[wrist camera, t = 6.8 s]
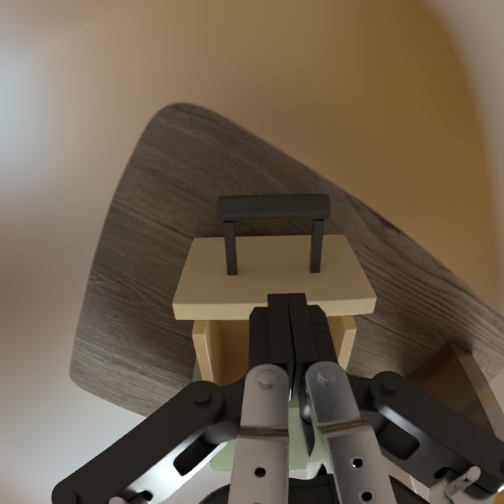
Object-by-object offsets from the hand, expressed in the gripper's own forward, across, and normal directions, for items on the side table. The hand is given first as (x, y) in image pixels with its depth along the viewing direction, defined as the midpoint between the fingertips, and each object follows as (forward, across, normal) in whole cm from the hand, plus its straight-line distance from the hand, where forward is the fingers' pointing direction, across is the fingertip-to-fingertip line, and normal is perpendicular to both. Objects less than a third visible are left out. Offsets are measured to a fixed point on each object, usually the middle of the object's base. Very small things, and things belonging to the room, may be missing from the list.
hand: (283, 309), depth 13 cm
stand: (+12, -23, +23) cm, 35 cm away
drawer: (+11, 0, +7) cm, 13 cm away
